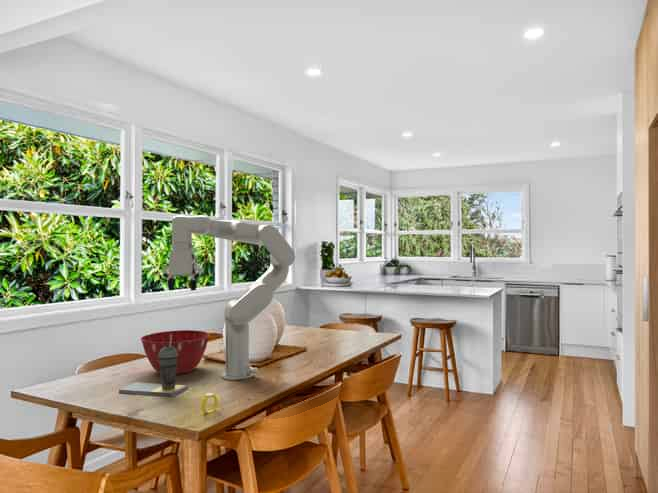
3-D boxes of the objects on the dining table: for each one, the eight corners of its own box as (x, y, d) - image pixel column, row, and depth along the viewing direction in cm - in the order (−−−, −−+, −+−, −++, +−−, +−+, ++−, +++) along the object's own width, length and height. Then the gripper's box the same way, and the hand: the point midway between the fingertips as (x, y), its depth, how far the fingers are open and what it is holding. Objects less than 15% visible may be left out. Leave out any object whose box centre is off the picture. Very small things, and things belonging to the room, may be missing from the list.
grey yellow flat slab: (187, 388, 185) (187, 385, 185) (172, 396, 175) (172, 392, 175) (135, 385, 190) (135, 382, 190) (118, 392, 180) (118, 389, 180)
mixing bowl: (190, 381, 196) (190, 342, 196) (126, 378, 202) (126, 340, 202) (220, 365, 224) (220, 331, 224) (163, 362, 230) (162, 329, 230)
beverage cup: (161, 386, 184) (160, 332, 185) (180, 385, 185) (180, 332, 185) (155, 391, 177) (155, 335, 177) (176, 390, 178) (175, 335, 178)
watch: (206, 416, 155) (205, 398, 154) (199, 415, 156) (198, 396, 156) (219, 409, 160) (218, 391, 159) (213, 408, 161) (212, 390, 161)
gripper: (206, 246, 198) (206, 289, 197) (167, 247, 202) (168, 289, 201) (197, 246, 190) (197, 291, 190) (157, 247, 194) (157, 290, 194)
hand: (182, 290), depth 196 cm, fingers open, 9 cm apart
